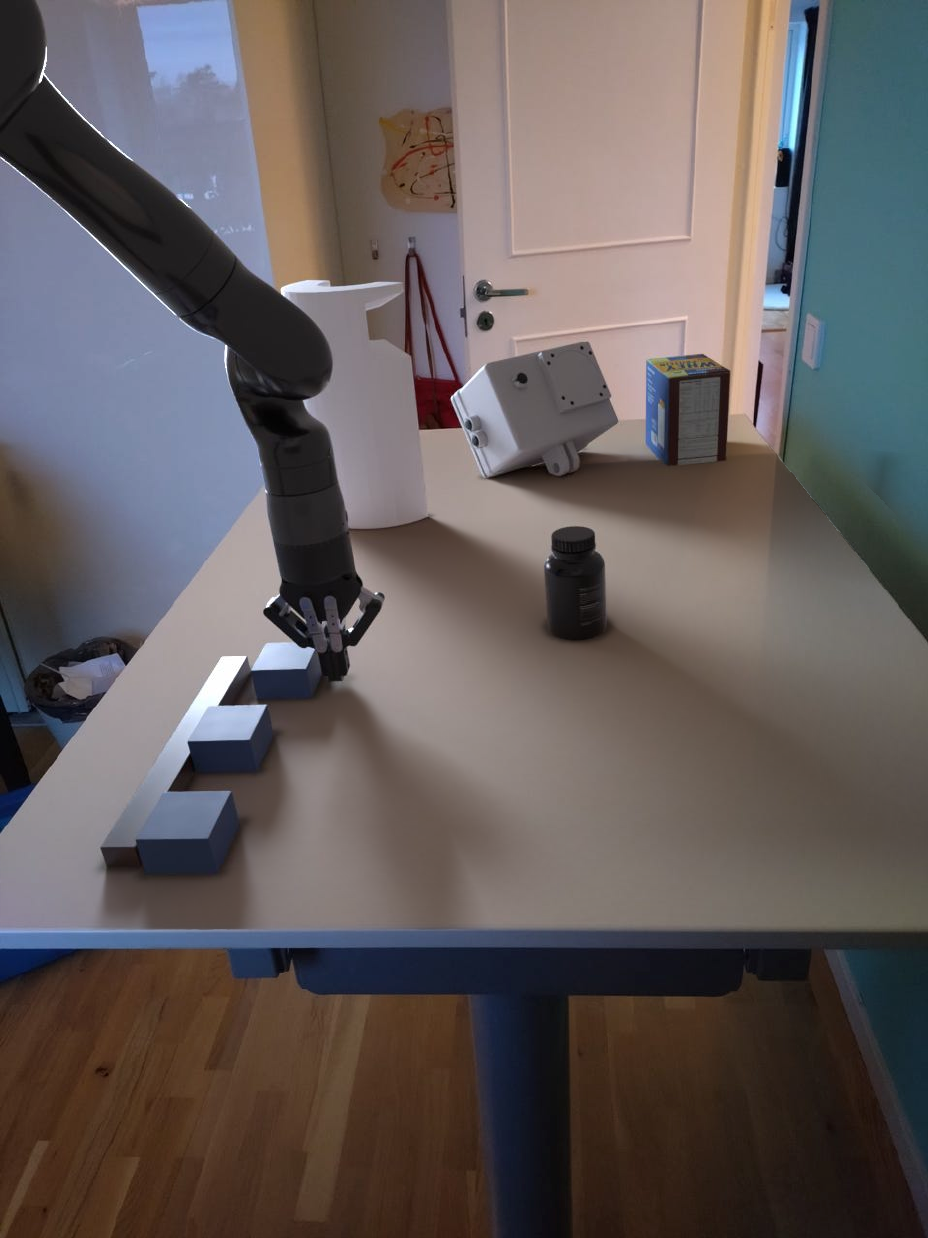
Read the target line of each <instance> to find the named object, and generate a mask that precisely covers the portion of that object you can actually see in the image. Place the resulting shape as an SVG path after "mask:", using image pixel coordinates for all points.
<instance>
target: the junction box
mask: <svg viewBox="0 0 928 1238" xmlns="http://www.w3.org/2000/svg"><path fill="white" fill-rule="evenodd" d="M611 398H612V393H611V391H610V388H609V387H608V384H607V382H606V379H605V377H604V374H603V373H602V369H601V367H600V365H599V363H598V360H597V358H596V355H595V353H594V351H593V348H592V346H591V343H590V341H579V342H574V343H570V344H566V345H565V344H564V345H561V346H557V347H553V348H548V349H543V350H539V351H534V352H530V353H526V354H522V355H517V356H513V357H512V356H511V357H508V358H503V359H499V360H494V361H491V362H487V363H485V364H484V365H483V366H482V367H481V368H479V369H478V371H476V373H475V374H474V375H473V376H472V377H471V378H470V379H469V380H468V381H467V382H466V383H465V384H464V385H463V386H462V387H461V388H459V389H457V391H455V392H454V394H453V395H451V397H450V402H451V405H452V406H453V409H454V412H455V413H456V416H457V418H458V422H459V424H460V426H461V428H462V430H463V433H464V435H465V438H466V441H467V443H468V445H469V448H470V450H471V453H472V455H473V457H474V460H475V463H476V465H477V467H478V470H479V472H480V474H481V477H482V478H483V479H490V478H494V477H497V476H500V475H504V474H506V473H509V472H510V473H511V472H513V471H517V470H520V469H524V468H531V467H534V466H537V465H540V464H545V466H546V469H547V471H548V473H549V474H551V475H554V476H556V477H561V476H564V475H566V474H571V473H574V472H576V471H577V470H578V469H579V468H580V456H579V454H578V453H579V452H581V450H583V449H585V448H587V447H588V445H589V444H590V443H591V442H593V441H594V440H596V439H597V438H599V437H600V436H602V435H603V434H605V433H606V432H607V431H609V430H610V429H612V428H614V427H615V426H616V425H617V424H618V423H619V418H618V416H617V413H616V411H615V409H614V406H613V404H612V402H611V400H610V399H611Z"/></svg>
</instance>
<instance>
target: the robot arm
mask: <svg viewBox="0 0 928 1238" xmlns="http://www.w3.org/2000/svg"><path fill="white" fill-rule="evenodd" d="M47 43H48V40H47V31H46V25H45V21H44V18H43V14H42V12H41V8H40V5H39V3H38V1H37V0H0V159H2V160H3V161H4V162H5V163H7V164H8V165H9V166H10V167H12V168H13V169H14V170H16V171H17V173H20V175H22V176H23V177H24V178H25V179H27V180H28V181H29V182H30V183H31V184H33V185H34V186H35V187H36V188H38V190H40V191H41V192H42V193H44V194H45V195H46V196H48V198H50V199H51V200H52V201H53V202H54V203H56V204H57V205H58V206H59V207H60V208H61V209H62V210H63V211H64V212H66V213H67V214H68V215H69V216H70V217H71V218H72V219H73V220H74V221H76V223H78V224H79V226H80V227H81V228H83V229H84V230H85V231H86V232H87V233H88V234H89V235H90V236H91V237H92V238H93V239H94V240H95V241H97V243H99V244H100V245H101V246H102V247H103V248H104V249H105V250H106V251H107V252H108V253H109V254H110V255H111V256H112V257H113V258H114V259H115V260H116V261H117V262H119V264H120V265H122V266H123V268H125V270H127V271H128V272H129V273H130V274H131V275H132V276H133V277H134V278H135V279H136V280H137V281H138V282H139V283H141V284H142V285H143V287H145V288H146V290H148V291H149V292H150V293H151V294H152V295H153V296H154V297H155V298H156V299H158V301H160V302H161V303H162V304H163V305H164V306H165V307H166V308H167V309H168V310H170V311H171V312H172V313H173V314H174V315H175V316H176V317H177V318H179V320H180V321H182V323H184V324H185V325H186V326H188V327H189V328H190V329H192V330H194V331H195V332H197V333H198V334H201V335H203V336H207V337H209V338H212V339H214V340H217V341H219V342H220V343H222V344H224V345H225V349H224V364H225V371H226V376H227V380H228V383H229V386H230V389H231V392H232V394H233V397H234V399H235V402H236V405H237V406H238V409H239V411H240V413H241V416H242V418H243V420H244V423H245V425H246V428H247V429H248V432H249V433H250V435H251V438H252V439H253V442H254V443H255V446H256V449H257V454H258V461H259V466H260V471H261V476H262V480H263V481H262V482H263V485H264V491H265V498H266V511H267V518H268V524H269V528H270V533H271V537H272V542H273V547H274V552H275V556H276V562H277V566H278V571H279V575H280V580H281V583H280V586H279V588H278V591H279V594H277V596H272V597H271V598H269V600H268V602H267V603H266V605H265V607H264V608H263V611H262V614H263V616H264V617H265V618H266V619H268V620H269V621H270V622H271V623H272V624H273V625H274V626H275V627H277V628H278V629H279V630H280V631H281V632H282V633H283V634H284V635H286V636H287V637H288V638H289V639H290V640H291V642H295V643H296V644H297V645H298V646H299V647H301V648H307V647H310V648H313V649H315V650H316V651H317V653H318V657H319V662H320V667H321V672H322V676H323V677H324V678H327V680H328V682H329V683H330V682H343V681H344V679H345V677H347V676H348V673H349V670H350V667H351V662H350V658H349V651H348V647H357V645H358V644H359V642H360V641H361V640H362V638H363V637H364V635H365V634H366V633H367V631H368V630H369V628H370V626H371V625H372V624H373V622H374V620H375V619H376V618H377V616H378V615H379V613H380V612H381V610H382V608H383V605H384V602H385V598H386V597H385V594H384V593H382V592H380V591H377V592H372V591H371V590H369V589H368V588H366V587H364V583H363V579H362V578H361V577H360V576H359V574H358V572H357V570H356V564H355V558H354V552H353V551H354V550H353V545H352V539H351V534H350V528H349V527H348V515H347V511H346V508H345V503H344V498H343V495H342V492H341V489H340V485H339V481H338V476H337V470H336V464H335V458H334V453H333V446H332V441H331V437H330V434H329V431H328V429H327V428H326V426H325V425H324V424H323V423H321V422H320V421H319V420H317V419H315V418H314V417H313V416H312V415H311V414H310V413H309V412H308V411H307V410H306V408H305V405H304V402H303V400H307V399H310V398H313V397H315V396H317V395H318V394H320V393H321V392H322V391H323V390H324V389H325V388H326V386H327V385H328V383H329V382H330V379H331V376H332V372H333V355H332V351H331V348H330V345H329V343H328V341H327V339H326V337H325V335H324V334H323V332H322V331H321V329H320V328H319V327H318V325H317V324H316V323H315V322H314V321H313V320H312V319H311V318H310V317H309V316H308V315H307V314H306V313H305V312H303V311H302V310H301V309H300V308H299V307H297V306H296V305H295V304H294V303H292V302H291V301H290V300H288V299H287V298H286V297H284V296H283V295H282V294H281V292H280V291H278V290H277V289H275V288H274V286H272V285H270V284H269V283H267V282H266V281H264V280H263V279H261V278H260V277H259V276H257V275H255V274H254V273H253V272H252V271H250V269H248V267H246V266H245V265H244V263H243V262H242V261H241V260H240V259H239V257H237V255H236V254H235V253H234V251H232V250H231V248H229V246H228V245H227V244H226V243H225V242H224V241H223V240H222V239H221V238H220V237H219V236H218V235H217V233H216V232H215V231H213V229H212V228H211V227H210V226H209V225H208V224H207V223H206V222H205V221H204V220H203V219H202V218H201V217H200V216H199V215H198V214H197V213H196V212H195V211H194V210H193V209H192V208H191V207H190V206H188V204H186V202H184V201H183V200H182V199H181V198H180V197H179V196H178V195H176V194H175V192H173V191H172V190H170V188H168V187H167V186H166V185H165V184H163V183H162V182H161V181H159V180H158V179H157V178H156V177H154V176H153V175H152V174H151V173H149V172H148V171H147V170H145V169H144V168H143V167H142V166H140V165H139V164H137V163H136V162H135V161H134V160H133V159H131V157H129V156H127V155H126V154H125V153H123V152H122V150H120V149H119V148H118V147H117V146H115V145H114V144H113V143H112V142H111V141H109V140H108V139H107V138H106V137H104V136H103V135H102V134H101V132H100V131H98V130H97V129H96V128H95V127H94V126H93V125H92V124H90V123H89V122H88V121H87V120H86V119H85V117H83V116H82V115H81V114H80V113H79V111H77V110H76V109H75V107H73V105H72V104H71V103H69V101H68V100H67V99H66V98H65V97H64V96H63V95H62V94H61V92H60V91H59V90H58V89H57V88H56V87H55V85H54V84H53V83H52V81H50V80H49V78H48V77H47V75H46V74H45V73H44V70H45V67H46V62H47V52H48V45H47ZM357 600H359V605H358V608H359V610H360V611H361V613H360V615H359V616H358V617H357V619H356V620H355V622H354V623H353V625H352V626H351V628H348V629H347V623H346V622H347V616H348V615H349V613H350V612H351V610H352V608H353V606H354V605H355V603H356V601H357ZM296 613H297V614H298V615H297V614H296ZM300 617H301V618H300ZM304 620H305V621H304Z"/></svg>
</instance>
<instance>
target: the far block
mask: <svg viewBox="0 0 928 1238" xmlns="http://www.w3.org/2000/svg"><path fill="white" fill-rule="evenodd" d="M250 670H251V673H250V675H251V679H252V684H253V689H254V693H255V698H256V700H285V699H287V700H288V699H289V700H290V699H312V698H313V696H314V694H315V691H316V689H317V687H318V684H319V682H320V681H321V678H322V676H323V674H322V672H321V667H320V662H319V657H318V653H317V651H316V650H315V649H313V648H310V647H307V648H301V647H299V646H298V645H297V644H296V643H295V642H294V641H287V642H286V641H285V642H284V641H283V642H266V643H265V645H264V646H263V648H262V650H261V652H260V653H259V655H258V657H257V659H256V660H255V662H254V664H253V666H252V668H250Z"/></svg>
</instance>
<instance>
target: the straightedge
mask: <svg viewBox="0 0 928 1238" xmlns="http://www.w3.org/2000/svg"><path fill="white" fill-rule="evenodd" d="M250 675H251V667H250V662H249V657H248V656H247V655H241V656H221V658H220V659H219V661H218V662H217V663H216V665H215V667H214V669H212V672H210V675H209V676H208V677H207V679H206V680H205V682H204V684H203V685H202V687H201V688H200V690H199V692H198V694H197V695H196V696H195V698H194V700H193V701H192V703H191V705H190V706H189V708H188V709H187V711H186V713H184V715H183V717H182V718H181V720H180V722H179V723H178V725H177V727H176V728H175V730H174V731H173V733H172V734H171V736H170V738H169V739H168V740H167V742H166V744H165V745H164V746H163V748H162V750H161V751H160V753H159V755H158V756H157V758H156V759H155V761H154V762H153V764H152V766H151V767H150V769H149V770H148V772H147V773H146V775H145V776H144V778H143V780H142V781H141V783H140V785H139V786H138V787H137V789H136V791H135V792H134V794H133V795H132V797H131V799H130V800H129V802H128V803H127V804H126V806H125V808H124V809H123V811H122V812H121V814H120V816H119V818H118V819H117V821H116V822H115V824H114V825H113V827H112V828H111V830H110V832H109V833H108V834H107V836H106V838H105V839H104V841H103V842H102V844H101V846H100V848H99V849H100V852H101V855H102V857H103V860H104V863H105V866H106V868H129V867H130V868H141V867H142V866H143V862H142V859H141V856H140V853H139V850H138V847H137V844H136V841H135V839H136V838H137V836H138V834H139V833H140V831H141V829H142V828H143V826H144V824H145V823H146V821H147V819H148V817H149V816H150V814H151V812H152V811H153V809H154V807H155V806H156V804H157V802H158V801H159V799H160V797H161V796H162V794H163V792H185V790H186V788H187V786H188V785H189V783H190V781H191V779H192V777H193V776H194V774H195V773H196V772H195V769H194V765H193V761H192V757H191V754H190V750H189V746H188V743H187V741H188V740H189V738H190V736H191V735H192V733H193V731H194V730H195V728H196V726H197V725H198V723H199V721H200V720H201V718H202V716H203V715H204V713H205V711H206V710H207V708H208V707H209V706H234V703H235V701H236V700H237V698H238V696H239V694H240V692H241V690H242V689H243V687H244V685H245V684H246V682H247V680H248V678H249V677H250Z"/></svg>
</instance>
